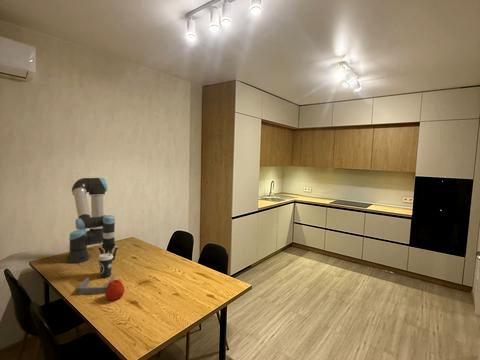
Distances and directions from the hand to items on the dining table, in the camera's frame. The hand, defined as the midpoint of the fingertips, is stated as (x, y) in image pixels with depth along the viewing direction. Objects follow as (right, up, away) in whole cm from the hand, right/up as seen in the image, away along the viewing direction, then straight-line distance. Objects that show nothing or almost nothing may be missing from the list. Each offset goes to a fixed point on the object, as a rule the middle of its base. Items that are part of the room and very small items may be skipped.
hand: (108, 269), depth 186 cm
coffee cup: (+1, -3, -5) cm, 6 cm away
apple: (+20, -6, -32) cm, 38 cm away
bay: (+3, -4, -21) cm, 22 cm away
